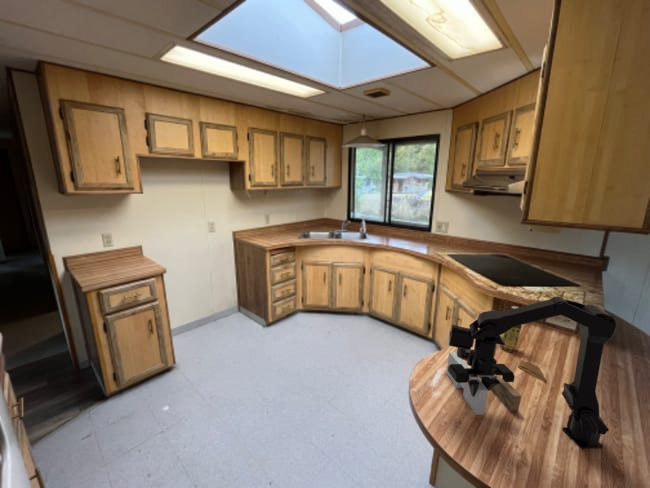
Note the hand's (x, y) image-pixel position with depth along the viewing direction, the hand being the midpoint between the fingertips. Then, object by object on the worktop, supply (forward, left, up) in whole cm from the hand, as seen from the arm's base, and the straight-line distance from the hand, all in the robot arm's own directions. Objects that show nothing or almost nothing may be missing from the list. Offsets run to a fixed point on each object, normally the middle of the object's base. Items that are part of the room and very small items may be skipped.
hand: (476, 395), depth 91 cm
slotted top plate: (+7, 0, -4) cm, 8 cm away
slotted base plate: (+8, -12, -4) cm, 15 cm away
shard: (+18, -35, -5) cm, 40 cm away
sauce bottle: (+33, -35, -5) cm, 48 cm away
